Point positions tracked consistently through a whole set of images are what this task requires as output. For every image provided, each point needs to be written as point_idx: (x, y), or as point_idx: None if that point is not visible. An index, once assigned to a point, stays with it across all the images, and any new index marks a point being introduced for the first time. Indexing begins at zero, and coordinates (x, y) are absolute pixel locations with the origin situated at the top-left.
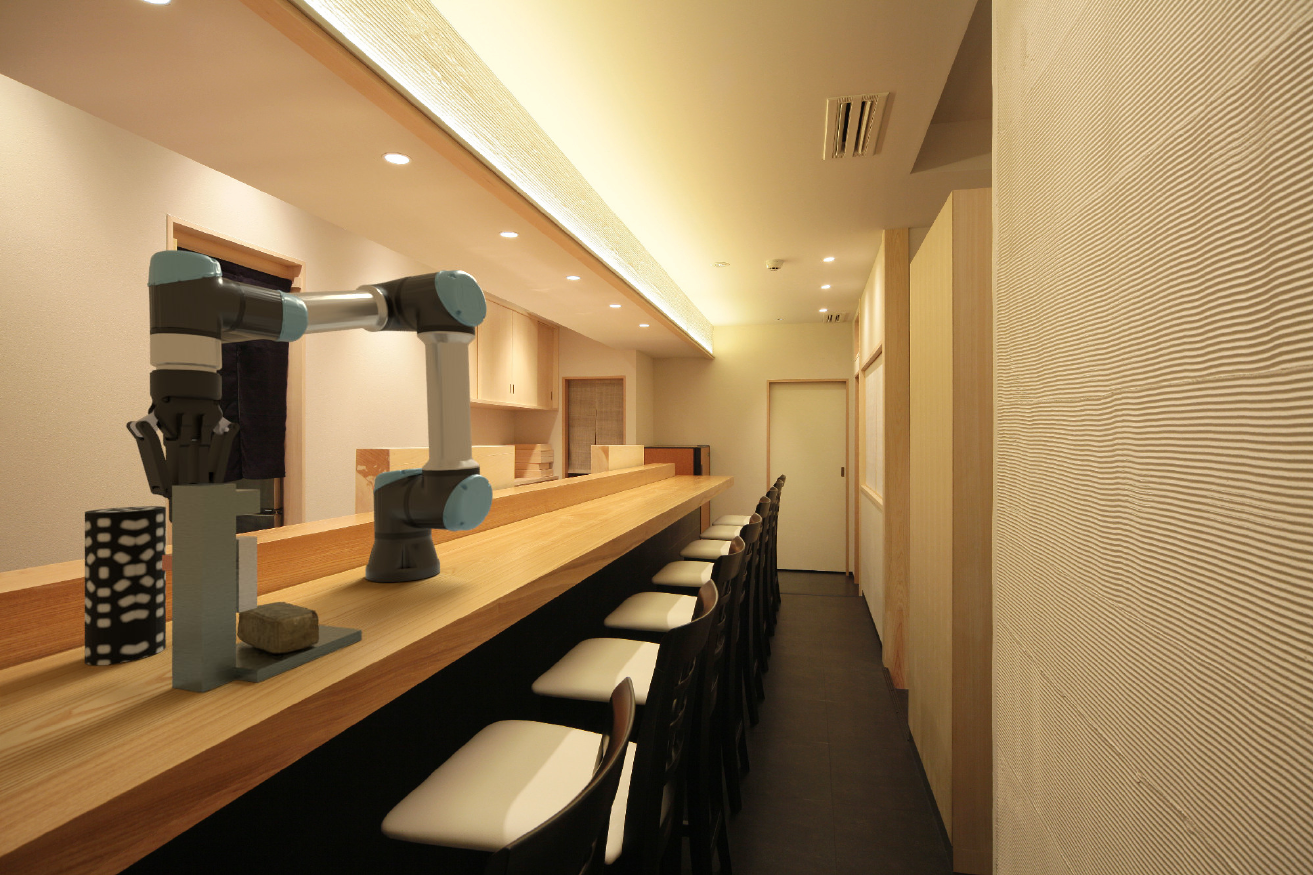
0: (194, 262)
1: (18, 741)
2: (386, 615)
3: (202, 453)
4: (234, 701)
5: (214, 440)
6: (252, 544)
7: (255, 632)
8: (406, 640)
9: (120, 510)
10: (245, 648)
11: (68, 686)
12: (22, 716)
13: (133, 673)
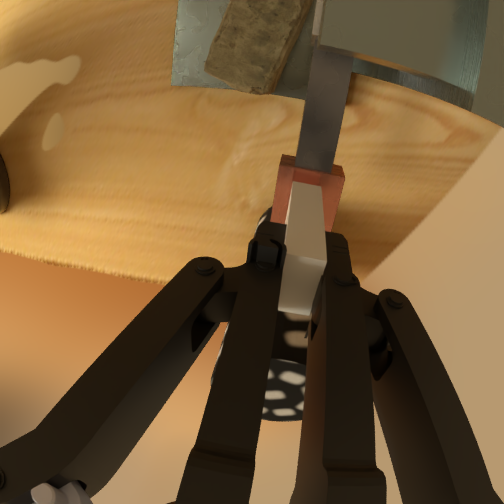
0: None
1: (495, 130)
2: (90, 34)
3: (240, 416)
4: None
5: (108, 469)
6: None
7: (295, 39)
8: None
9: (291, 393)
10: (289, 63)
11: (388, 204)
12: (454, 177)
13: (351, 168)
